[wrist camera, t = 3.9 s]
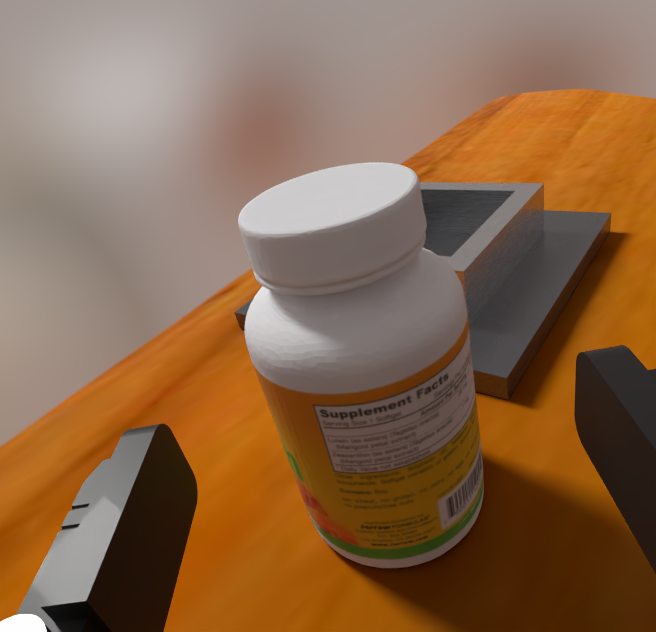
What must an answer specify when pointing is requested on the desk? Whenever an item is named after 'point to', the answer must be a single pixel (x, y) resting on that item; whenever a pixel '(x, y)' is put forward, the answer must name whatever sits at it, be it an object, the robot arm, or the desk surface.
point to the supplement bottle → (365, 362)
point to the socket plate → (506, 268)
